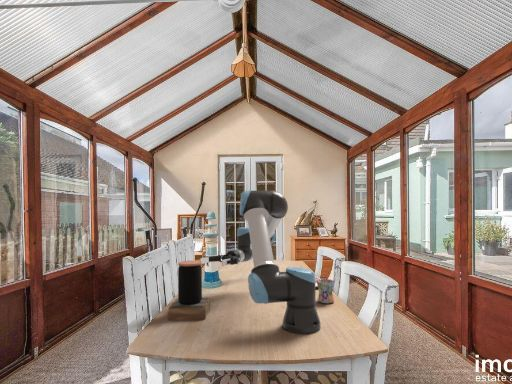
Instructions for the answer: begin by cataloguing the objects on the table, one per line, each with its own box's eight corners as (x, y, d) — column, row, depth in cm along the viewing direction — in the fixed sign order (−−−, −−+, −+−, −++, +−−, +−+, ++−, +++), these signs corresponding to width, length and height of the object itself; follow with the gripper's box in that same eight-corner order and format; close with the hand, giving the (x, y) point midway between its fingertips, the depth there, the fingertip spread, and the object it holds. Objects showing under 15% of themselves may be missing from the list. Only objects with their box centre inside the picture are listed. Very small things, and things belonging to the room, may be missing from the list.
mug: (337, 304, 162) (337, 282, 163) (319, 305, 161) (318, 283, 162) (330, 297, 174) (329, 277, 175) (313, 298, 173) (312, 278, 174)
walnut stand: (205, 319, 142) (205, 306, 142) (168, 320, 142) (168, 307, 142) (209, 308, 158) (209, 297, 158) (176, 309, 158) (176, 297, 158)
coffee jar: (206, 300, 152) (206, 261, 153) (190, 306, 143) (190, 265, 144) (189, 297, 158) (189, 259, 158) (173, 303, 149) (173, 263, 149)
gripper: (254, 265, 174) (232, 271, 155) (216, 262, 186) (191, 268, 167) (254, 251, 174) (232, 255, 156) (216, 249, 186) (191, 253, 168)
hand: (211, 262), depth 161 cm, fingers open, 13 cm apart
